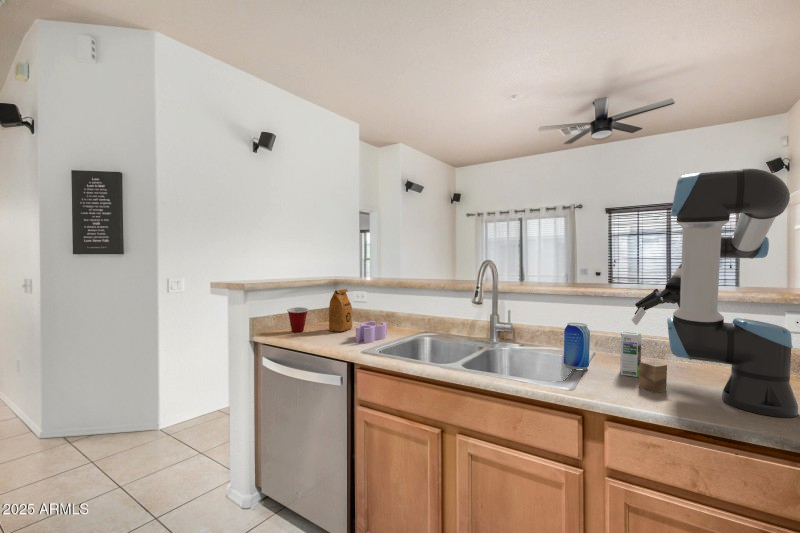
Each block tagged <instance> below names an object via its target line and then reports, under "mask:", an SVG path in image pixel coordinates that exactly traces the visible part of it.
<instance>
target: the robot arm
mask: <svg viewBox="0 0 800 533" xmlns="http://www.w3.org/2000/svg"><path fill="white" fill-rule="evenodd" d="M790 197H791V194H790V190H789V187H788V186H787V184H786V183H785V182H784V181H783V180H782V179H781V178H780V177H778V176H777V175H776V174H775V173H771V172H769V171H767V170H765V169H764V170H763V169H759V168H742V169H730V170H720V171H709V172H705V171H704V172H696V173H689V174H685V175H681V176H679V178H678V179H677V182H676V186H675V191H674V196H673V200H672V208H671V212H670V216H671V217H675V218H676V224H678V225H679V226H680V228H681V227H682V244H681V263H680V264H679V266H678V267H677V269H676V270H675V271H674V273H672V276H671V278H670V279H669V280H668V281H667V283H666V284H665V288H664V289H663V290H659V289H658V288H654V290H653V291H651V293H649V294H647V295H646V296H645V297H643V298H642V299H640V300H639V301H637V302H636V303H635V304H634V305H635V307H636V308H637V309H636V311H635V312H634V316H633V317H632V318H631V321H632V323H633V325H635V326H638V324H639V323H640V321H641V320H642V319H643V317H644V316H645V314H646V311H648V310H650V309H651V308H654V307H656V306H658V305H663V304H665V303H667V304H673V305H674V304H677V306H678V308H677V309H676V310H675V311H673V314H672V315H673V317H671V316H670V317H668V318H667V319H666V320H667V332H668V340H669V347H670V348H669V349H670V352H671V354H672V355H673V356H675V357H678V358H682V359H688V360H689V361H691V360H694V361H700V362H701V361H702V362H709V363H717V364H725V365H731V369H730V370H731V372H730V376H729V377H728V380H727V381H726V384H725V385H724V387H723V389H722V394H721V397H722V398H721V399H722V401H723V402H724V403H726V404H727V405H729V406H733V407H735V408H737V409H740V410H743V411H746V412H750V413H754V414H758V415H764V416H769V417H770V416H771V417H776V418H777V417H778V418H794V417H797V416H798V415H799V404H798V401H797V399H796V396H795V394H794V391H793V388H792V385H791V362H792V361H791V360H792V348H793V343H792V341H793V340H792V332H790V330H789V329H787V328H786V327H783V326H780V325H777V324H774V323H770V322H765V321H760V320H754V319H747V318H746V319H745V318H740V317H737V318H733V320H732V322H725V317H724V315H722V314H721V312H720V311H718V303H719V302H718V301H719V287H720V286H719V285H720V284H719V283H720V282H719V281H720V266H721V259H725V258H726V259H750V260H751V259H765V258H766V257H767V256H768V253H769V249H770V240H769V237H768V236H767V235H768V232H769V230H770V229H771V226H772V225H773V223H774V222H775V220H776V218H777V217H779V216H780V215H782V214H783V213H784V212H785V210H786V209H787V207H788V205H789V204H790V201H791V200H790V199H791V198H790ZM732 214H733V215H734V214H735V215H737V214H739V217H738V220H737V222H736V225H735V227H734V231H733V233H732V235H722V230H723V227H724V226H725V225H726V224H728V223H729V222H730V220H731V219H730V217H731V215H732Z"/></svg>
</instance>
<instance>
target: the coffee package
mask: <svg viewBox="0 0 800 533" xmlns="http://www.w3.org/2000/svg"><path fill="white" fill-rule="evenodd" d="M348 292H349V290H348V288H343V289H335V290H334V291H333V294H332V296H331V297H330V300H329V307H328V331H329V332H338V333H339V332H345V331H349V330H351V329H353V306H352V303H351V302H350V299H349V298H348V295H347V293H348Z"/></svg>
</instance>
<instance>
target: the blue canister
mask: <svg viewBox="0 0 800 533" xmlns="http://www.w3.org/2000/svg"><path fill="white" fill-rule="evenodd" d="M563 334H564V335H563V336H564V339H563V364H564V365H565V368H567V369H570V370H574V369H583V370H582V371H586V370H587V369H588V368H589V367H590V342H591V339H590V338H591V336H590V334H591V331H590V329H589V327H588V324H586V323H583V322H581V323H580V322H567V324H566V326H565V327H564V333H563Z"/></svg>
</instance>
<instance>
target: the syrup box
mask: <svg viewBox="0 0 800 533" xmlns="http://www.w3.org/2000/svg"><path fill="white" fill-rule="evenodd" d="M640 362H642V335H641V333H640V332H632V331H623V330H622V331H621V332H620V364H619V365H620V375H621V376H628V377H635V378H639V373H640Z"/></svg>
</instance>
